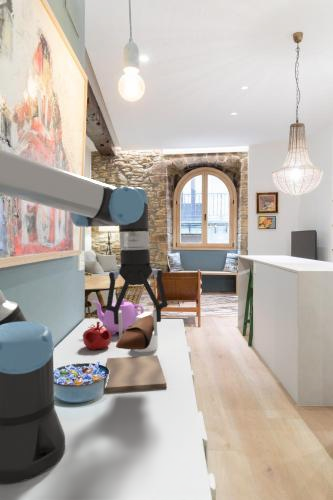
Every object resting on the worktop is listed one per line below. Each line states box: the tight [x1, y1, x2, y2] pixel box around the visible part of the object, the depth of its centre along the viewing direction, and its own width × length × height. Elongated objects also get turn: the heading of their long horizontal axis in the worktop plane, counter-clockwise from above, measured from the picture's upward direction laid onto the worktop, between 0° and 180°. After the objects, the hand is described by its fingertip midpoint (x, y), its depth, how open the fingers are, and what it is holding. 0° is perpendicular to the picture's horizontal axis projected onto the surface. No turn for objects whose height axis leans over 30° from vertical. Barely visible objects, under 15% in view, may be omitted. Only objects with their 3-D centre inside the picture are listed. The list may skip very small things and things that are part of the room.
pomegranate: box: [82, 321, 112, 351], centre depth 127 cm, size 10×10×9 cm
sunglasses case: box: [115, 315, 154, 350], centre depth 92 cm, size 18×7×7 cm, turn 177°
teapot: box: [92, 298, 145, 336], centre depth 147 cm, size 22×16×14 cm
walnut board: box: [104, 354, 168, 393], centre depth 102 cm, size 16×22×1 cm
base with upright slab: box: [132, 311, 159, 353], centre depth 126 cm, size 9×9×12 cm
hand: (138, 335), depth 92 cm, fingers closed on sunglasses case, 8 cm apart
